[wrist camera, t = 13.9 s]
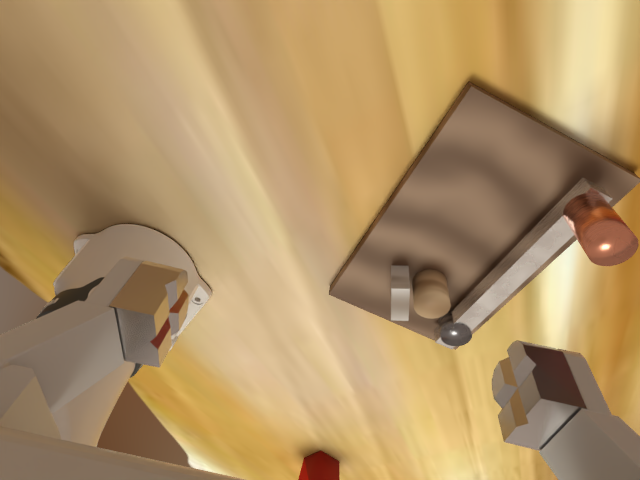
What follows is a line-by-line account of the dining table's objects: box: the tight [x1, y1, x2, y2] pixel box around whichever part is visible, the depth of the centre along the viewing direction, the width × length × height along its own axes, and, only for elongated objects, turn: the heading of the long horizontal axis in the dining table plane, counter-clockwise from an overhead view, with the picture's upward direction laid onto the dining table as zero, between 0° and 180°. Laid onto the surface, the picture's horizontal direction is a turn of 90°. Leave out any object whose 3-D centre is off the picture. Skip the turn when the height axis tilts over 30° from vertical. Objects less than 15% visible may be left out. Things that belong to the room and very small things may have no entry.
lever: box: [434, 178, 638, 349], centre depth 43 cm, size 24×4×8 cm, turn 156°
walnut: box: [412, 269, 451, 319], centre depth 48 cm, size 4×4×4 cm
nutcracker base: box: [329, 82, 640, 350], centre depth 45 cm, size 29×19×6 cm, turn 155°
